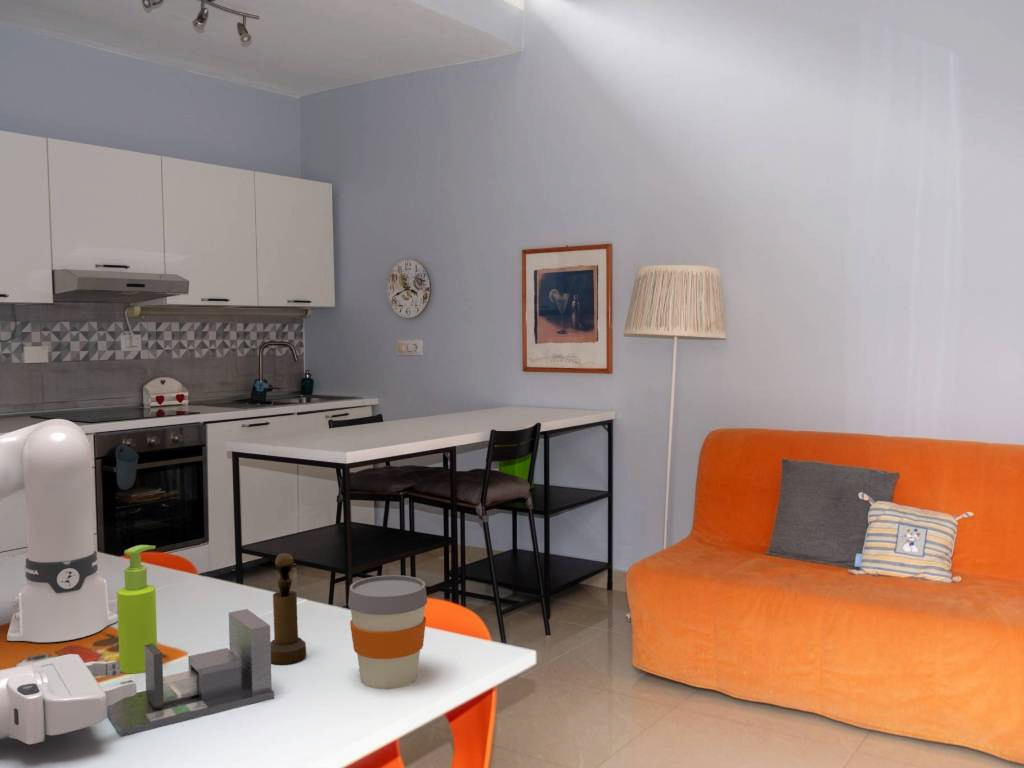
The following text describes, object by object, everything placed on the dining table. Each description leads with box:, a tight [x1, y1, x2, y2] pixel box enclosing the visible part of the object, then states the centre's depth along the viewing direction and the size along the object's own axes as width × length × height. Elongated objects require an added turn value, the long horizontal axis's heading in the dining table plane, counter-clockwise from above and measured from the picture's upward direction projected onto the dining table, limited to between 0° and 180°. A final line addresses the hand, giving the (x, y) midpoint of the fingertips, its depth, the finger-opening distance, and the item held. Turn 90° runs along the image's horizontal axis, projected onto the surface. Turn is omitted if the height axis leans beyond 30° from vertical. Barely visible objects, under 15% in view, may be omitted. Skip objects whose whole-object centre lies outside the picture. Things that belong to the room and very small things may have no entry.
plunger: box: [144, 643, 199, 709], centre depth 137 cm, size 8×11×8 cm
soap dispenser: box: [116, 544, 158, 674], centre depth 153 cm, size 6×7×20 cm
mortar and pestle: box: [270, 552, 307, 666], centre depth 157 cm, size 7×6×18 cm
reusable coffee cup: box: [347, 574, 428, 689], centre depth 148 cm, size 13×13×15 cm
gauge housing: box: [107, 608, 275, 737], centre depth 138 cm, size 12×22×11 cm, turn 126°
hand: (127, 676), depth 133 cm, fingers open, 8 cm apart
